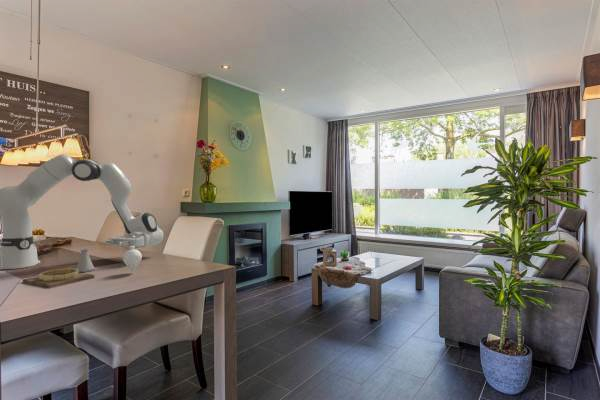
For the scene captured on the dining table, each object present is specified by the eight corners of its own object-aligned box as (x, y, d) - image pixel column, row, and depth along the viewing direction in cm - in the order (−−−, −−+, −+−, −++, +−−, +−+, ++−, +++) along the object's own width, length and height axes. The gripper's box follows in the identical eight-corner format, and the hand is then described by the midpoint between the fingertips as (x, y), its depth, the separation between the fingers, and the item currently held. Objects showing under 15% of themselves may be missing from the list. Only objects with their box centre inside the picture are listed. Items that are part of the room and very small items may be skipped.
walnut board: (22, 282, 136) (22, 279, 136) (67, 273, 151) (67, 270, 151) (50, 288, 128) (50, 284, 128) (94, 277, 143) (94, 274, 143)
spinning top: (118, 274, 150) (118, 247, 149) (134, 270, 156) (133, 244, 156) (130, 275, 146) (130, 248, 146) (145, 272, 153) (145, 245, 153)
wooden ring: (32, 279, 137) (31, 274, 137) (66, 272, 148) (66, 267, 148) (51, 282, 131) (51, 277, 131) (85, 275, 143) (85, 270, 143)
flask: (85, 273, 152) (85, 250, 152) (71, 272, 153) (71, 250, 153) (98, 269, 159) (97, 248, 159) (84, 268, 161) (84, 247, 160)
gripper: (122, 233, 185) (98, 236, 172) (149, 234, 176) (125, 238, 164) (123, 244, 185) (98, 248, 172) (149, 246, 176) (126, 251, 164)
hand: (112, 243), depth 168 cm, fingers open, 8 cm apart
